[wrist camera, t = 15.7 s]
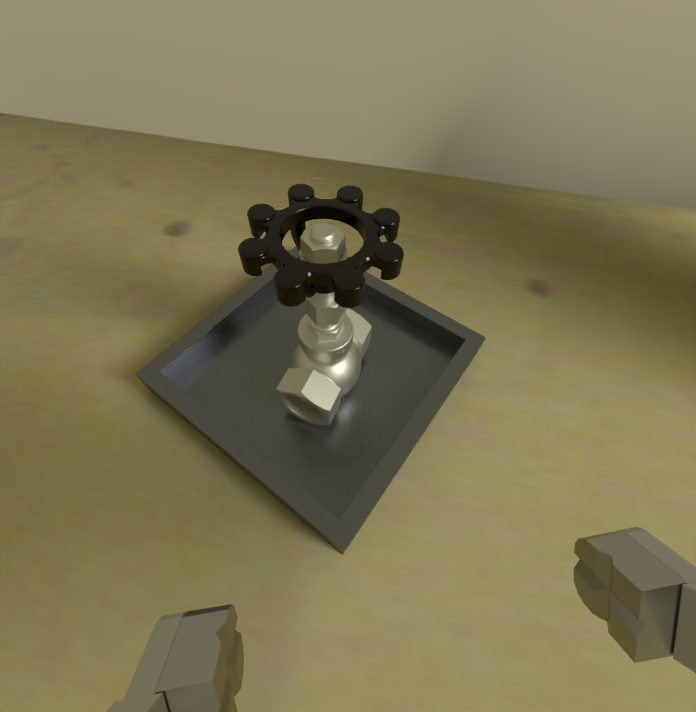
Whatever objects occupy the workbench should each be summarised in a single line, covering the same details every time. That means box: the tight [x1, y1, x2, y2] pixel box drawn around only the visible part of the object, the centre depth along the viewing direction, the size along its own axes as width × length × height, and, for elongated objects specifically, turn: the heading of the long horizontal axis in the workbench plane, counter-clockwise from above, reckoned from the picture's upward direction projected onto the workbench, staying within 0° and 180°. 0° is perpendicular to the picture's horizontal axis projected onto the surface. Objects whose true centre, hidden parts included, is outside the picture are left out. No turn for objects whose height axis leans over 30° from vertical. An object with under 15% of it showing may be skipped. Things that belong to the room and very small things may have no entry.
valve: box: [238, 184, 404, 425], centre depth 19 cm, size 7×7×12 cm
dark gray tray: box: [135, 246, 486, 554], centre depth 25 cm, size 16×16×2 cm
